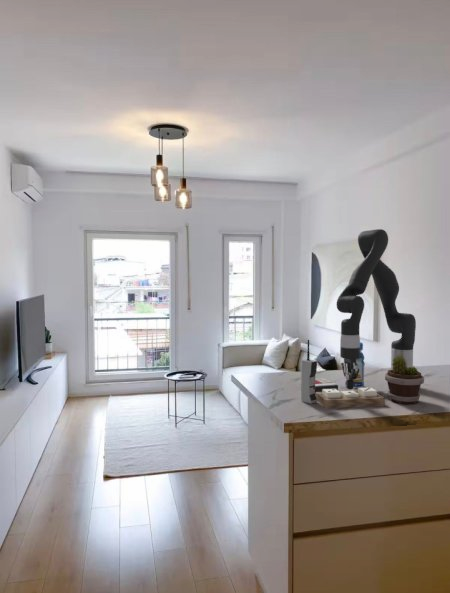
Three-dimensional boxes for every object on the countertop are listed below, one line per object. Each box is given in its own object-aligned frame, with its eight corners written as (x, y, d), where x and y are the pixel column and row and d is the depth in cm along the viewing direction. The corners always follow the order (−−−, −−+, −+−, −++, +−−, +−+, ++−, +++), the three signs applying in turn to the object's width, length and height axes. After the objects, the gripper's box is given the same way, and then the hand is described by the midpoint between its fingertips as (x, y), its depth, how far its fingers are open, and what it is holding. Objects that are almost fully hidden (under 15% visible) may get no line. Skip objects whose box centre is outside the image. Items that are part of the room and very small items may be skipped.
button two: (335, 394, 186) (335, 388, 185) (340, 398, 180) (340, 391, 180) (322, 395, 185) (322, 388, 185) (326, 398, 179) (327, 392, 179)
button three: (370, 393, 188) (370, 387, 187) (376, 396, 182) (377, 390, 182) (357, 393, 187) (357, 387, 187) (363, 397, 181) (363, 390, 181)
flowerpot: (401, 394, 196) (402, 347, 195) (432, 403, 182) (433, 353, 181) (376, 398, 189) (376, 350, 188) (406, 408, 175) (407, 356, 174)
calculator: (323, 377, 212) (338, 383, 198) (323, 386, 212) (338, 393, 198) (301, 378, 210) (314, 385, 195) (301, 388, 210) (314, 395, 195)
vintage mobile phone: (311, 404, 181) (311, 341, 180) (301, 401, 185) (301, 339, 184) (317, 402, 184) (317, 340, 182) (307, 399, 188) (307, 338, 186)
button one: (353, 396, 187) (353, 390, 186) (358, 400, 181) (358, 393, 181) (340, 396, 186) (340, 390, 186) (345, 400, 180) (345, 394, 180)
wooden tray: (371, 397, 191) (371, 390, 191) (384, 405, 179) (385, 397, 179) (315, 399, 188) (315, 392, 188) (325, 408, 176) (325, 400, 176)
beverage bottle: (368, 387, 208) (368, 343, 207) (355, 389, 203) (355, 344, 202) (353, 383, 215) (354, 340, 214) (340, 385, 210) (341, 342, 209)
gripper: (366, 348, 176) (366, 392, 177) (352, 342, 189) (352, 384, 190) (347, 348, 175) (347, 393, 176) (334, 343, 188) (334, 385, 189)
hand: (349, 388), depth 183 cm, fingers closed
